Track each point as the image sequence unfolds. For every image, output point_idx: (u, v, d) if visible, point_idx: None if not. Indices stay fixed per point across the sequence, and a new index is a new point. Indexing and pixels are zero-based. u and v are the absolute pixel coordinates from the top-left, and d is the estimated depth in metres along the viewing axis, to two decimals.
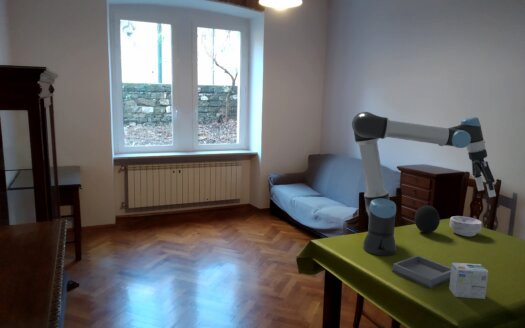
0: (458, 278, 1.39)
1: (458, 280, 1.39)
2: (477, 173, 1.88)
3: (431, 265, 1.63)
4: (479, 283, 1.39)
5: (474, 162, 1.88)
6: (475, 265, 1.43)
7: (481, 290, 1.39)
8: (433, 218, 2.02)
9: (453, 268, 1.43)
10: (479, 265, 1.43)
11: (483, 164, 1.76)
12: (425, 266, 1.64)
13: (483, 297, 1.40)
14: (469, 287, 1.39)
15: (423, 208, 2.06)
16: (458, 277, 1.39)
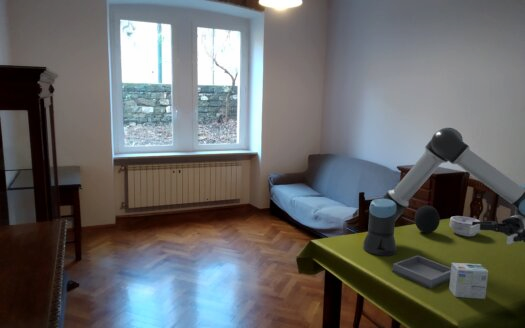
0: (458, 278, 1.39)
1: (458, 280, 1.39)
2: (485, 226, 1.56)
3: (431, 265, 1.63)
4: (479, 283, 1.39)
5: (492, 223, 1.59)
6: (475, 265, 1.43)
7: (481, 290, 1.39)
8: (433, 218, 2.02)
9: (453, 268, 1.43)
10: (479, 265, 1.43)
11: None
12: (425, 266, 1.64)
13: (483, 297, 1.40)
14: (469, 287, 1.39)
15: (423, 208, 2.06)
16: (458, 277, 1.39)
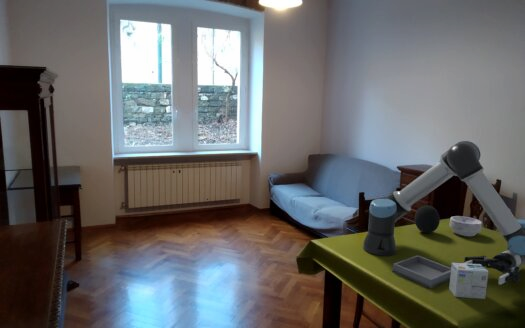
0: (458, 278, 1.39)
1: (458, 280, 1.39)
2: (477, 262, 1.56)
3: (431, 265, 1.63)
4: (479, 283, 1.39)
5: (485, 259, 1.59)
6: (475, 265, 1.43)
7: (481, 290, 1.39)
8: (433, 218, 2.02)
9: (453, 268, 1.43)
10: (479, 265, 1.43)
11: None
12: (425, 266, 1.64)
13: (483, 297, 1.40)
14: (469, 287, 1.39)
15: (423, 208, 2.06)
16: (458, 277, 1.39)
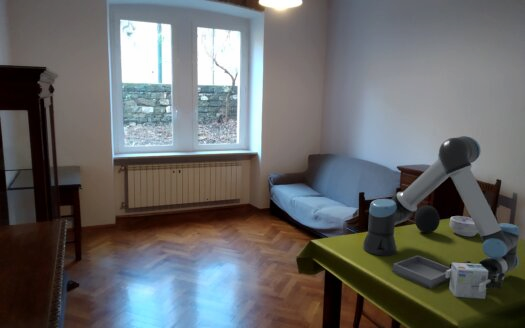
0: (458, 278, 1.39)
1: (458, 280, 1.39)
2: None
3: (431, 265, 1.63)
4: (479, 283, 1.39)
5: None
6: (475, 265, 1.43)
7: None
8: (433, 218, 2.02)
9: (453, 268, 1.43)
10: (479, 265, 1.43)
11: (503, 276, 1.43)
12: (425, 266, 1.64)
13: (483, 297, 1.40)
14: (469, 287, 1.39)
15: (423, 208, 2.06)
16: (458, 276, 1.39)
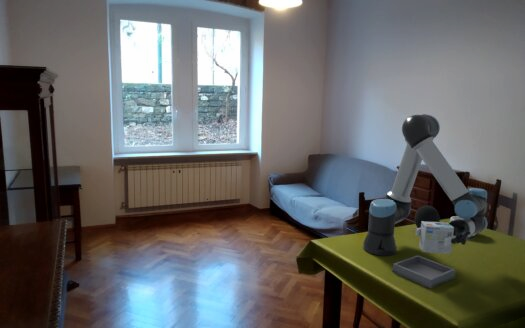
0: (426, 234, 1.49)
1: (426, 236, 1.49)
2: None
3: (431, 265, 1.63)
4: None
5: None
6: (443, 223, 1.52)
7: None
8: (433, 218, 2.02)
9: (422, 226, 1.53)
10: (446, 223, 1.53)
11: (469, 234, 1.53)
12: (425, 266, 1.64)
13: (449, 252, 1.49)
14: (436, 243, 1.49)
15: (423, 208, 2.06)
16: (426, 233, 1.49)
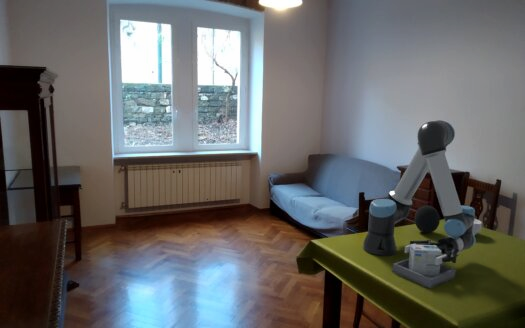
0: (414, 257, 1.54)
1: (415, 259, 1.54)
2: None
3: None
4: (433, 262, 1.54)
5: (429, 243, 1.67)
6: (431, 246, 1.57)
7: (435, 268, 1.54)
8: (433, 218, 2.02)
9: (411, 249, 1.58)
10: (434, 246, 1.57)
11: (458, 251, 1.58)
12: None
13: (437, 274, 1.54)
14: (424, 265, 1.54)
15: (423, 208, 2.06)
16: (414, 256, 1.54)
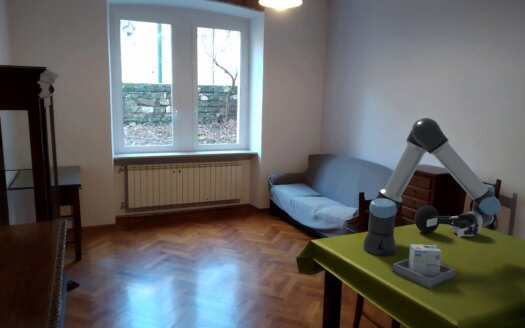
0: (414, 257, 1.54)
1: (415, 259, 1.54)
2: (442, 220, 1.70)
3: None
4: (433, 262, 1.54)
5: None
6: (431, 246, 1.57)
7: (435, 268, 1.54)
8: None
9: (411, 249, 1.58)
10: (434, 246, 1.57)
11: (478, 226, 1.64)
12: None
13: (437, 274, 1.54)
14: (424, 265, 1.54)
15: (423, 208, 2.06)
16: (414, 256, 1.54)
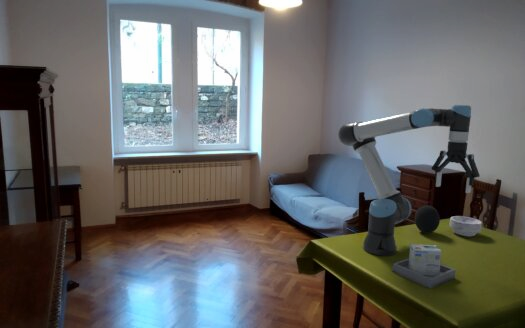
0: (414, 257, 1.54)
1: (415, 259, 1.54)
2: (442, 167, 1.73)
3: None
4: (433, 262, 1.54)
5: (443, 155, 1.72)
6: (431, 246, 1.57)
7: (435, 268, 1.54)
8: (433, 218, 2.02)
9: (411, 249, 1.58)
10: (434, 246, 1.57)
11: (471, 156, 1.62)
12: None
13: (437, 274, 1.54)
14: (424, 265, 1.54)
15: (423, 208, 2.06)
16: (414, 256, 1.54)
